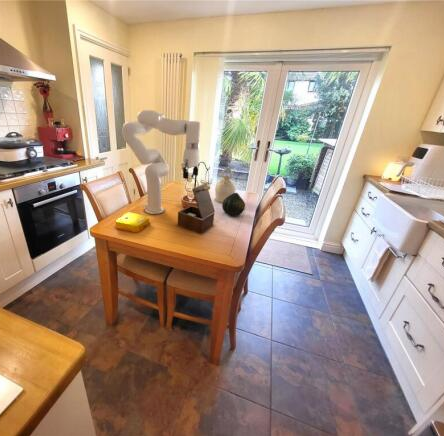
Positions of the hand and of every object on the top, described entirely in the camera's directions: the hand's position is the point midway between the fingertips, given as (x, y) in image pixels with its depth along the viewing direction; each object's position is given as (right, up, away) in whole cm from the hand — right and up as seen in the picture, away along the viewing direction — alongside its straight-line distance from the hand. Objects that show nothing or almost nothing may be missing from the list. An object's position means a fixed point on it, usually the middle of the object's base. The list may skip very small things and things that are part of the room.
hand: (190, 176), depth 134 cm
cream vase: (+28, -10, +48) cm, 57 cm away
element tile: (-34, -28, +4) cm, 44 cm away
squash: (+30, -21, +25) cm, 44 cm away
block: (0, -26, +9) cm, 28 cm away
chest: (+3, -28, +7) cm, 29 cm away
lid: (+7, -14, -3) cm, 16 cm away
